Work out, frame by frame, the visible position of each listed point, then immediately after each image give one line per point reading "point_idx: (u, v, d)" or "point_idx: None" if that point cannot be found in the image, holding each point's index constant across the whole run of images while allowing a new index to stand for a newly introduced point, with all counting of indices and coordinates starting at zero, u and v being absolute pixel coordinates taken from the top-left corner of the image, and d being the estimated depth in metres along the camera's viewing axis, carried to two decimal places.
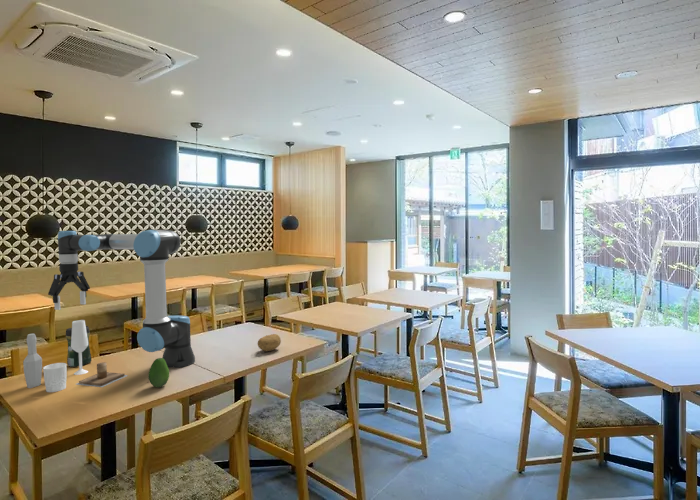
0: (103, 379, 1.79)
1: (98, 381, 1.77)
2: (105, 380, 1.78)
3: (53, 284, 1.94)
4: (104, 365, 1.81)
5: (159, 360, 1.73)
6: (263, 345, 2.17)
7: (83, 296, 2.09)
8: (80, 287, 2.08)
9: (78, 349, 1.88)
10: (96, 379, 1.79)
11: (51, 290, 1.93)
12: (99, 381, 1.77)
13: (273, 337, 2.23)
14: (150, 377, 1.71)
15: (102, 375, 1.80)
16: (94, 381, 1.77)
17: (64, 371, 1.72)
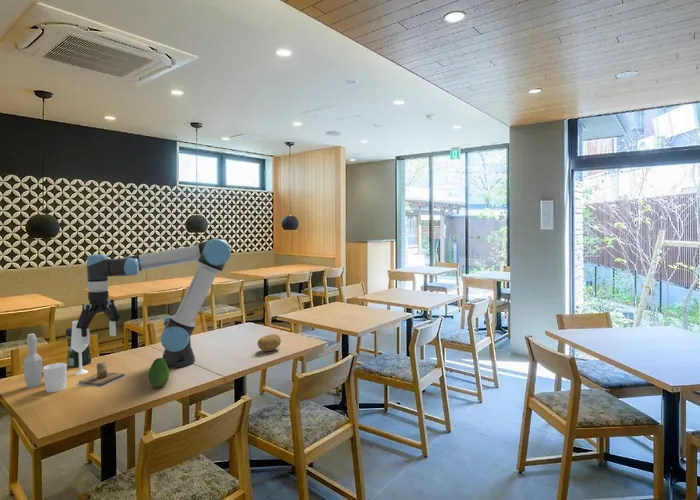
0: (103, 379, 1.79)
1: (98, 381, 1.77)
2: (105, 380, 1.78)
3: (82, 316, 1.72)
4: (104, 365, 1.81)
5: (159, 360, 1.73)
6: (263, 345, 2.17)
7: (113, 327, 1.87)
8: (110, 317, 1.86)
9: (78, 349, 1.88)
10: (96, 379, 1.79)
11: (80, 323, 1.71)
12: (99, 381, 1.77)
13: (273, 337, 2.23)
14: (150, 377, 1.71)
15: (102, 375, 1.80)
16: (94, 381, 1.77)
17: (64, 371, 1.72)
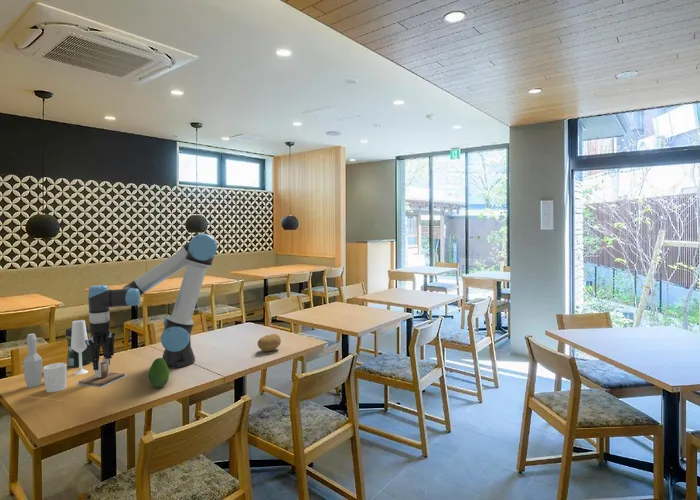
0: (103, 379, 1.79)
1: (98, 381, 1.77)
2: (105, 380, 1.78)
3: (89, 351, 1.76)
4: (104, 365, 1.81)
5: (159, 360, 1.73)
6: (263, 345, 2.17)
7: None
8: (105, 352, 1.83)
9: (78, 349, 1.88)
10: (96, 379, 1.79)
11: (90, 358, 1.76)
12: (99, 381, 1.77)
13: (273, 337, 2.23)
14: (150, 377, 1.71)
15: (102, 375, 1.80)
16: (94, 381, 1.77)
17: (64, 371, 1.72)
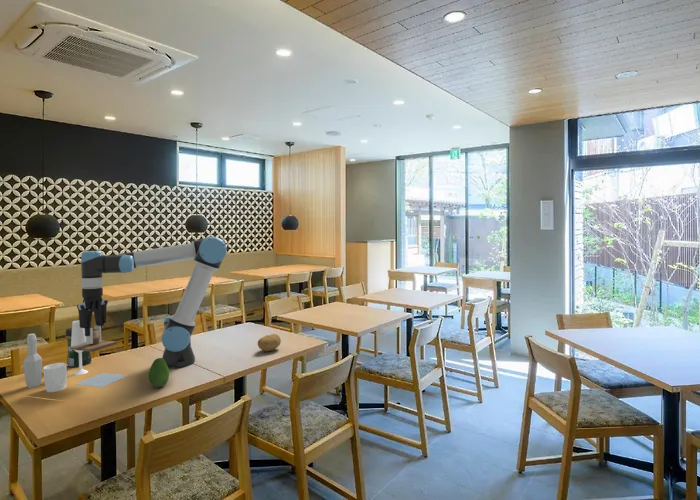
0: (94, 345, 1.77)
1: (89, 347, 1.75)
2: (96, 346, 1.76)
3: (81, 316, 1.73)
4: (96, 332, 1.79)
5: (159, 360, 1.73)
6: (263, 345, 2.17)
7: None
8: (97, 319, 1.81)
9: None
10: (87, 345, 1.77)
11: (81, 323, 1.74)
12: (90, 347, 1.75)
13: (273, 337, 2.23)
14: (150, 377, 1.71)
15: (94, 342, 1.78)
16: (85, 347, 1.75)
17: (64, 371, 1.72)
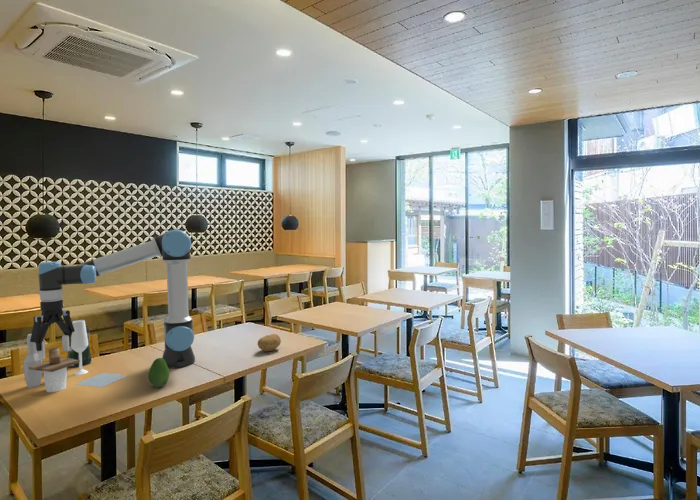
0: (55, 365, 1.69)
1: (49, 367, 1.67)
2: (57, 366, 1.68)
3: (34, 329, 1.63)
4: (57, 350, 1.70)
5: (159, 360, 1.73)
6: (263, 345, 2.17)
7: (66, 341, 1.75)
8: (63, 330, 1.75)
9: (78, 349, 1.88)
10: (48, 365, 1.69)
11: (33, 336, 1.63)
12: (50, 367, 1.67)
13: (273, 337, 2.23)
14: (150, 377, 1.71)
15: (54, 361, 1.70)
16: (45, 367, 1.67)
17: (64, 371, 1.72)
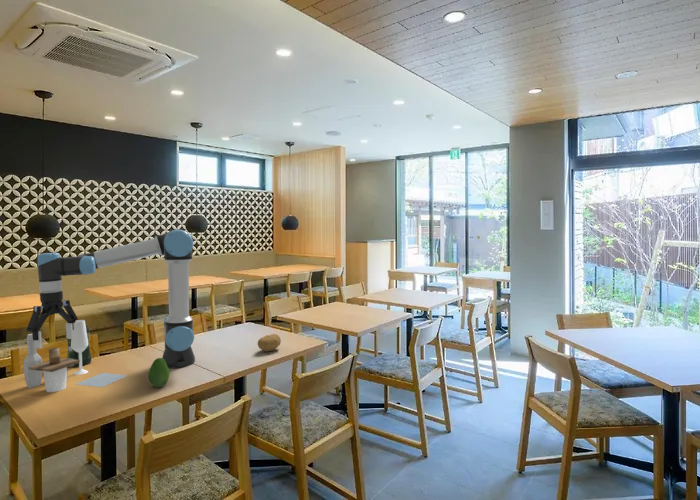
0: (55, 365, 1.69)
1: (49, 367, 1.67)
2: (57, 366, 1.68)
3: (32, 318, 1.62)
4: (56, 350, 1.70)
5: (159, 360, 1.73)
6: (263, 345, 2.17)
7: (70, 329, 1.77)
8: (66, 319, 1.76)
9: (78, 349, 1.88)
10: (48, 365, 1.69)
11: (30, 325, 1.61)
12: (50, 367, 1.67)
13: (273, 337, 2.23)
14: (150, 377, 1.71)
15: (54, 361, 1.70)
16: (45, 367, 1.67)
17: (64, 371, 1.72)
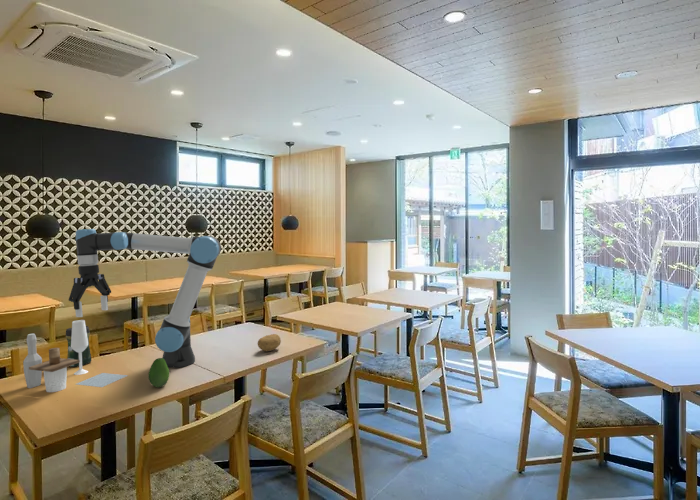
0: (55, 365, 1.69)
1: (49, 367, 1.67)
2: (57, 366, 1.68)
3: (73, 289, 1.75)
4: (56, 350, 1.70)
5: (159, 360, 1.73)
6: (263, 345, 2.17)
7: (105, 301, 1.89)
8: (101, 291, 1.88)
9: (78, 349, 1.88)
10: (48, 365, 1.69)
11: (72, 295, 1.73)
12: (50, 367, 1.67)
13: (273, 337, 2.23)
14: (150, 377, 1.71)
15: (54, 361, 1.70)
16: (45, 367, 1.67)
17: (64, 371, 1.72)
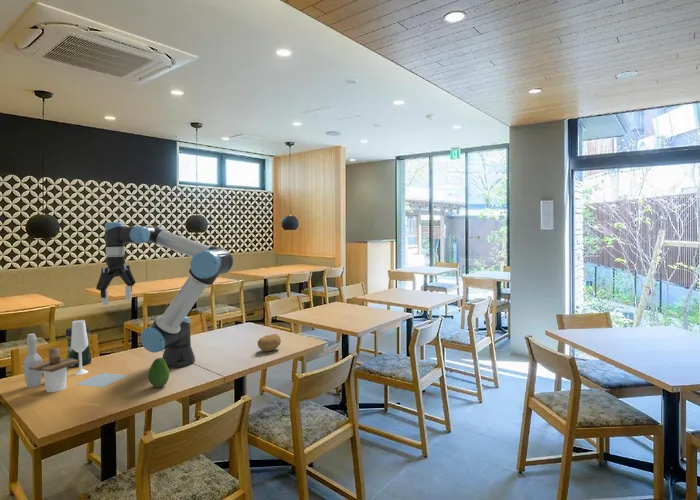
0: (55, 365, 1.69)
1: (49, 367, 1.67)
2: (57, 366, 1.68)
3: (101, 278, 1.85)
4: (56, 350, 1.70)
5: (159, 360, 1.73)
6: (263, 345, 2.17)
7: (129, 291, 1.99)
8: (126, 281, 1.98)
9: (78, 349, 1.88)
10: (48, 365, 1.69)
11: (99, 284, 1.84)
12: (50, 367, 1.67)
13: (273, 337, 2.23)
14: (150, 377, 1.71)
15: (54, 361, 1.70)
16: (45, 367, 1.67)
17: (64, 371, 1.72)
